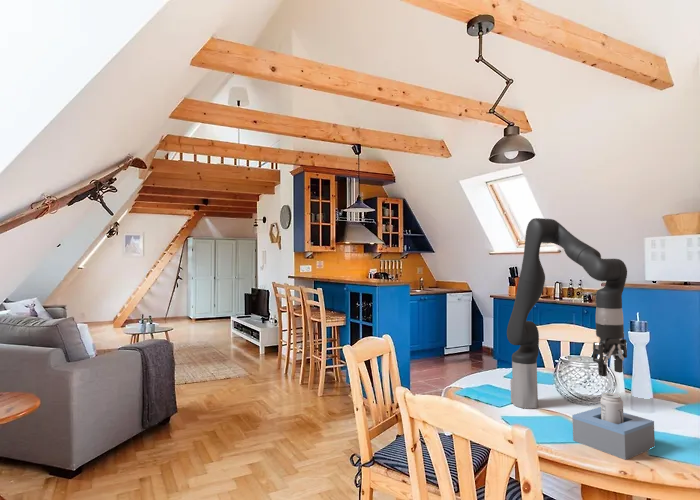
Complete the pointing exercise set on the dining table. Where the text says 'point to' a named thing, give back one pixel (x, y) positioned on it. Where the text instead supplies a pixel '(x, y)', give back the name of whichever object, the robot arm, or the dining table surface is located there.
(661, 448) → the dining table surface
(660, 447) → the dining table surface
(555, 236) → the robot arm
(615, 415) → the energy drink can
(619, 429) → the box
